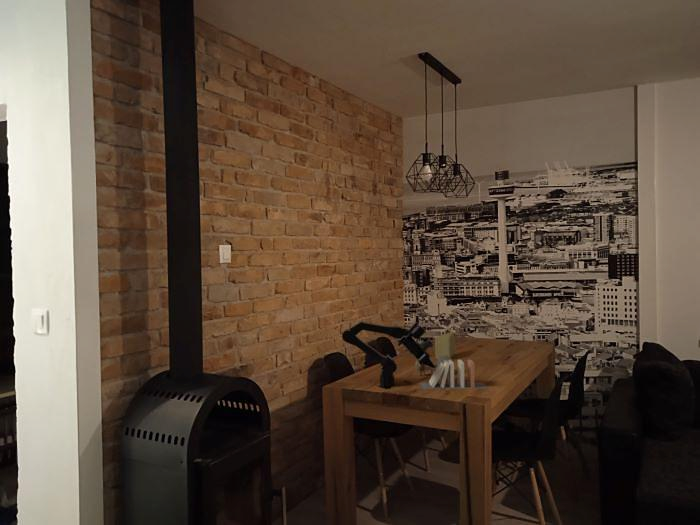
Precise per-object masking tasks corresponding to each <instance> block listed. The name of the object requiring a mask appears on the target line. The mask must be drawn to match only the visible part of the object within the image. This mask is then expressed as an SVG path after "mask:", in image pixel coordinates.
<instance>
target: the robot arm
mask: <svg viewBox="0 0 700 525" xmlns="http://www.w3.org/2000/svg"><path fill="white" fill-rule="evenodd" d="M362 331H366V332H367V331H368V332H373V333H377V334H383V335H386V336H390V337H392V338H394V339H397V346H398V347H400V346H401V345H402V346H404V348H406V350H408V351H409V353H410V354H412V355H413V356H414V357H415V358H416V359H417V360H418V362H419V363H420V364H421V365H422V364H424V365H427V366H429V367H432V368H435V366H434V364H435V363H434V362H432V360H431V358H430V357H431V355H430V354H429V352H428V351H427V349H429V348H432V347H434V344H433V342H432V340H431V339H430V338H429V339H427V338H423V339H422V342H421V343H419V342H417V341H416V340H415V339H418V340H419V339H420V338H421V337H422V336H423V335H424V334H425V333H426V332H427V330H426V329H424V327H423V326H421V325H420V324H419V323H418V322H417V321H415V322H414V324H412V326H411V327H410V328H403V327H402V326H400V325H384V324H383V325H382V324H376V323H370V322H365V321H359V322H358V323H357V324H355V325H353V326H352V327H350V328H346V329H344V330H343V331H342V335H341V337H342V338H341V339H342V340H343V342H345V343H346V344H347V343H348V344H349V345H352V346H354V347H356V348H358V349H359V350H360V351H362V352H363V353H365V354H366V355H368V356H369V357H370V358H373V360H375V361H376V362H378V363H379V364H380V366H381V368H380V372H381V374H379V385H377V386H378V387H379V388H382V389H386V390H387V389H391V388H395V376H394V373H395V372H396V370H397V368H398V365H397V362H396V361H395V358H392V357H391V356H390V355H389V354H386V355H383V354H381V353H380V352H378V351H377V350H376V349H374V348H373V347H372V346H370V345H369V344H367V343H366V342H364V341H363V339H362V340H361V339H360V337H359V336H358V334H359V333H361V332H362ZM433 363H434V364H433Z"/></svg>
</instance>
